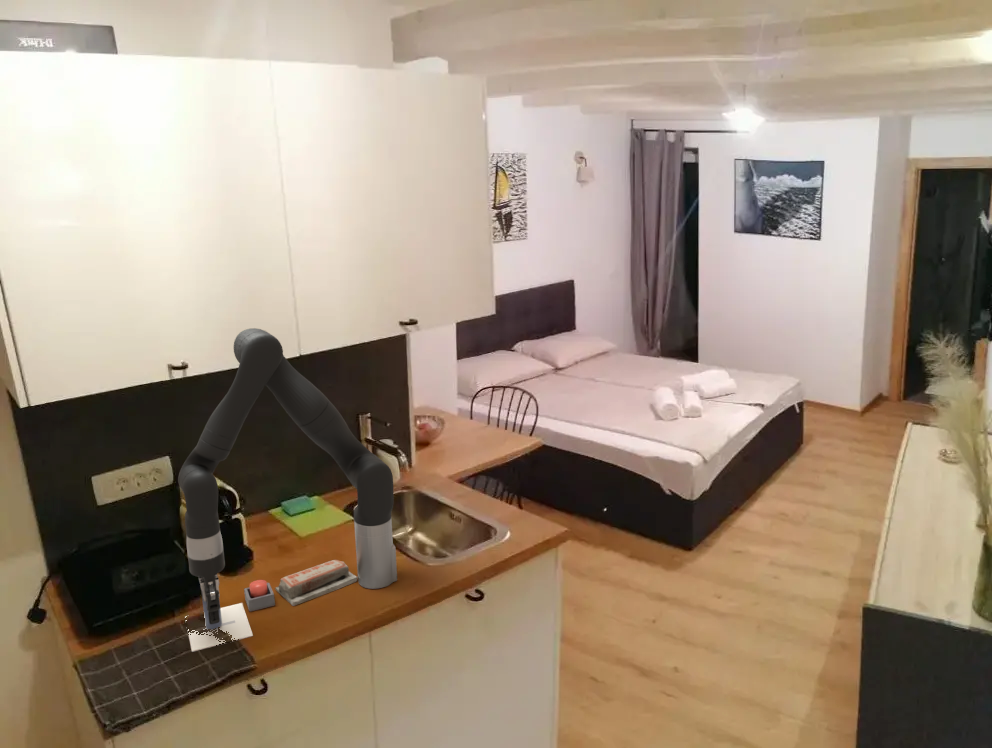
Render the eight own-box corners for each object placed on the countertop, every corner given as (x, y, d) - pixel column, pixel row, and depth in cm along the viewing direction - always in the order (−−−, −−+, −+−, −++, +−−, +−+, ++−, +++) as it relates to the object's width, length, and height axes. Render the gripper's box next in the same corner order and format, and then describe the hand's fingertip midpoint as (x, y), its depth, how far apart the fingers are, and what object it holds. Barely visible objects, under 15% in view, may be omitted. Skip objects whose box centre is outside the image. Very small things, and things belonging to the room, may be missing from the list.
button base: (270, 593, 195) (269, 582, 194) (275, 605, 190) (273, 594, 189) (245, 599, 192) (244, 588, 191) (249, 611, 187) (248, 600, 186)
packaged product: (291, 590, 188) (273, 574, 195) (293, 608, 189) (275, 592, 196) (357, 565, 199) (337, 551, 206) (358, 582, 200) (339, 567, 207)
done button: (266, 589, 193) (265, 578, 192) (269, 597, 189) (268, 585, 189) (249, 593, 191) (248, 582, 190) (252, 601, 188) (251, 590, 187)
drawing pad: (242, 603, 190) (241, 602, 190) (252, 635, 177) (252, 635, 177) (185, 617, 185) (184, 616, 185) (192, 652, 172) (191, 651, 172)
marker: (220, 618, 183) (216, 584, 180) (223, 626, 180) (219, 591, 177) (204, 622, 181) (200, 587, 179) (206, 630, 178) (202, 595, 176)
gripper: (227, 560, 171) (235, 629, 176) (218, 533, 183) (225, 599, 188) (191, 568, 168) (199, 638, 172) (184, 540, 180) (192, 607, 185)
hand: (213, 617), depth 180 cm, fingers closed on marker, 3 cm apart
